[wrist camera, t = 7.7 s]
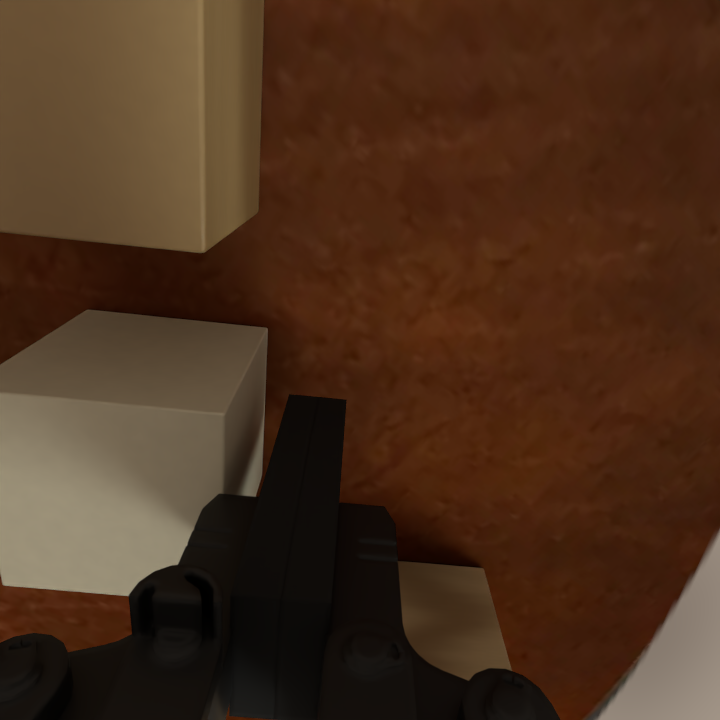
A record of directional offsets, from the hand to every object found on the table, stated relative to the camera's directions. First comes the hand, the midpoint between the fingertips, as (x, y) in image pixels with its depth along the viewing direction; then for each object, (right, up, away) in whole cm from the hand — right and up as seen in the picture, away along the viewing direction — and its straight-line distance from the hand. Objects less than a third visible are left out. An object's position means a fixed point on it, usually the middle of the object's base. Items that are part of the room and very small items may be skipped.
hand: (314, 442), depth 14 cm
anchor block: (-4, +9, -2) cm, 9 cm away
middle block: (-4, +1, +1) cm, 4 cm away
